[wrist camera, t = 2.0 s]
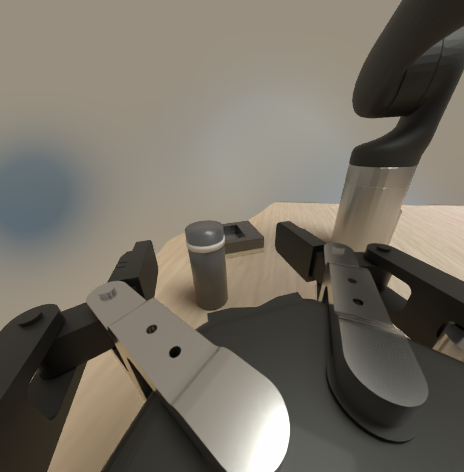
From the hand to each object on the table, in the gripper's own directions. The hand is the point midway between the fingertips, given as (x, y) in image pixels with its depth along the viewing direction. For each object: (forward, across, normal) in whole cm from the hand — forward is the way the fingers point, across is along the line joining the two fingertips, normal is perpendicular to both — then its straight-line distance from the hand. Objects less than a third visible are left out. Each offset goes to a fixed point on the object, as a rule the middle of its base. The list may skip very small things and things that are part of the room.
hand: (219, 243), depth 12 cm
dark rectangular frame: (+26, -6, +15) cm, 31 cm away
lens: (+12, 0, +16) cm, 19 cm away
